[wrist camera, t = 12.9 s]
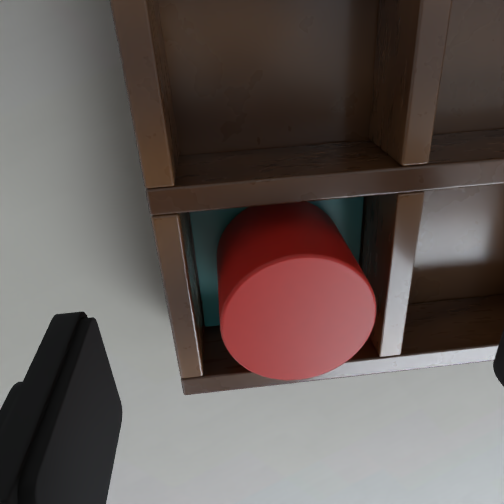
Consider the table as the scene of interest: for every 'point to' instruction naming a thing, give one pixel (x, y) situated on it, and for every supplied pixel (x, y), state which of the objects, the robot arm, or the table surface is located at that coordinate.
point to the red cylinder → (291, 292)
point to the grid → (327, 160)
